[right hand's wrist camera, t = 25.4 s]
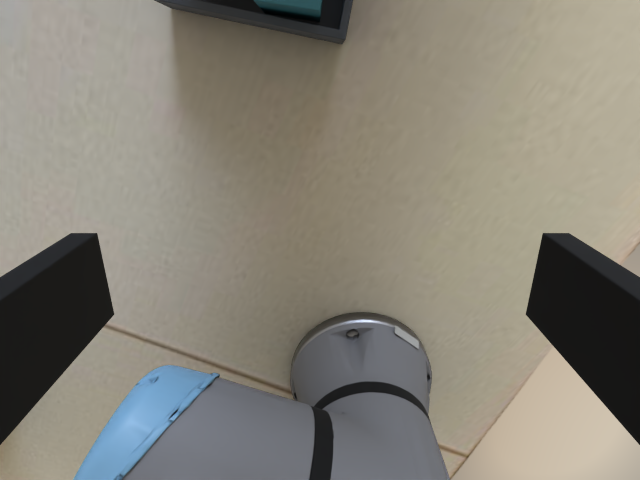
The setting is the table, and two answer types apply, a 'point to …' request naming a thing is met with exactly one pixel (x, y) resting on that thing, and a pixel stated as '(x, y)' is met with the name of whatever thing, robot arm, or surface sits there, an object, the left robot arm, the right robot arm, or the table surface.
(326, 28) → the tray
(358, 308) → the table surface
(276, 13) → the teal block
